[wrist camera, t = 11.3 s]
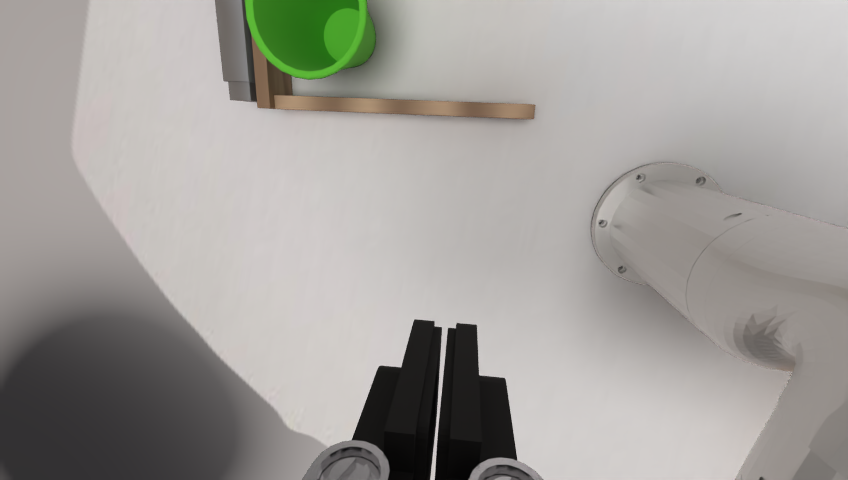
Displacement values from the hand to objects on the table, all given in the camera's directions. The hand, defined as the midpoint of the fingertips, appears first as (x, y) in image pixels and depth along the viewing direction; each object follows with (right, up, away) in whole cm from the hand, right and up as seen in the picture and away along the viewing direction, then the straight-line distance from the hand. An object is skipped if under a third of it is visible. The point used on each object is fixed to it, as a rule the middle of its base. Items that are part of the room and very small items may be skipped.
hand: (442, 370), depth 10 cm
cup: (-8, +23, +28) cm, 37 cm away
